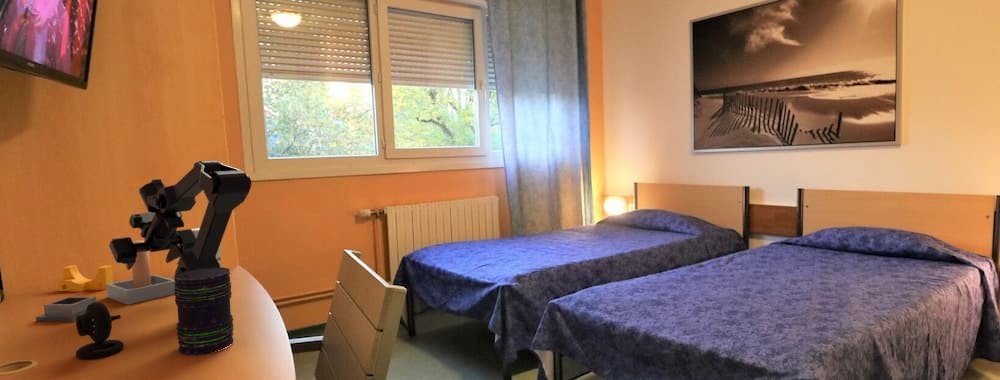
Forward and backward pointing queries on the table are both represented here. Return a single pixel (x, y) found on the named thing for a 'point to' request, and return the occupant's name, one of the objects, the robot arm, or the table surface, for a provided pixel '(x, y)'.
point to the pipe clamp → (85, 279)
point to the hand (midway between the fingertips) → (147, 265)
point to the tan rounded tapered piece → (141, 269)
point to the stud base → (65, 309)
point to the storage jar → (203, 310)
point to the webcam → (97, 332)
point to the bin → (140, 290)
